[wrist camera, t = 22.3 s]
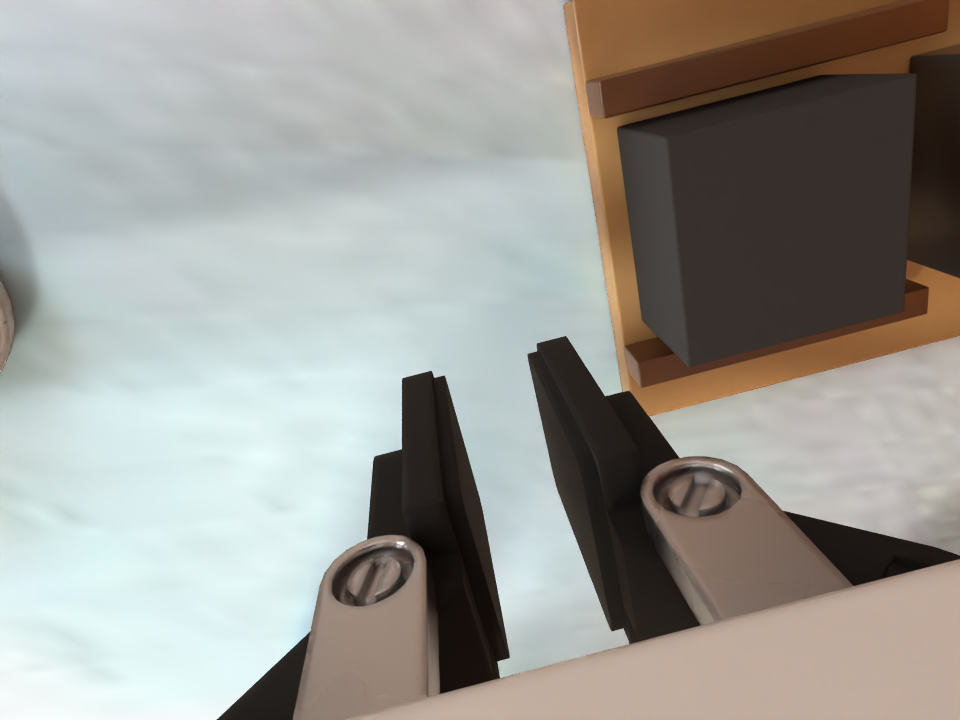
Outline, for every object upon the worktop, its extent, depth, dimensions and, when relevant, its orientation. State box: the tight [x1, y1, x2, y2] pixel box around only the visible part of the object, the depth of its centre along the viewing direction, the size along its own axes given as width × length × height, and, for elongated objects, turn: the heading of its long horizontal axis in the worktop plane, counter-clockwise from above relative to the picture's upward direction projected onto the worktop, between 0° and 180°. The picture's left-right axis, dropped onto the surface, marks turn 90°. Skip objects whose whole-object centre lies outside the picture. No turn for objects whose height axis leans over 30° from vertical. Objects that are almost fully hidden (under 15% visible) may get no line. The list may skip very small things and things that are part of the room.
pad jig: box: [563, 0, 960, 416], centre depth 20 cm, size 14×19×4 cm
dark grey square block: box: [617, 73, 917, 367], centre depth 19 cm, size 6×6×4 cm
